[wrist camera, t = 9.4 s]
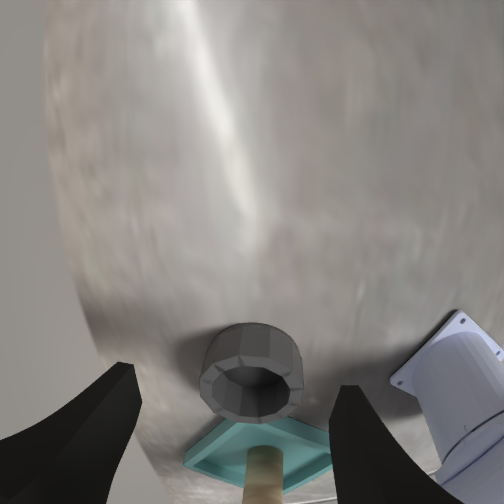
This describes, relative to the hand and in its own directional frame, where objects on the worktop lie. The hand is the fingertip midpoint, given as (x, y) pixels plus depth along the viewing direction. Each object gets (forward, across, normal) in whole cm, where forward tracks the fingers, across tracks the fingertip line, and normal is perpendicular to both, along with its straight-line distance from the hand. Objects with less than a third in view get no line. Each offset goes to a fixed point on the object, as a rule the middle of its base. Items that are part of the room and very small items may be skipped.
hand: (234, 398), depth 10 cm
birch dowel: (+10, -2, +20) cm, 22 cm away
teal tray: (+10, -2, +20) cm, 22 cm away
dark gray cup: (+10, 0, +7) cm, 13 cm away
